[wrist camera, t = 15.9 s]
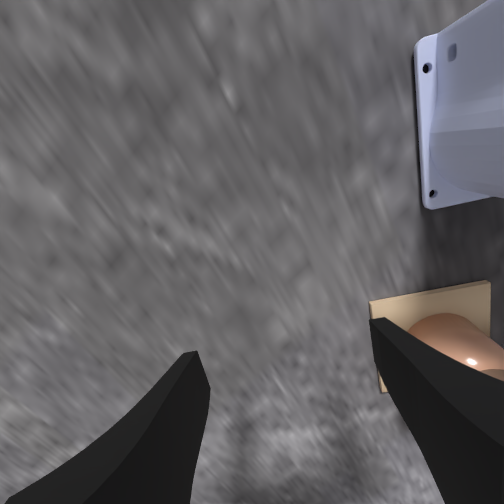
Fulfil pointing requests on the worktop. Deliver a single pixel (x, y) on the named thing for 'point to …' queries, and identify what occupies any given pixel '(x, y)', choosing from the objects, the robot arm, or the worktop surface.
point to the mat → (437, 306)
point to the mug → (461, 342)
